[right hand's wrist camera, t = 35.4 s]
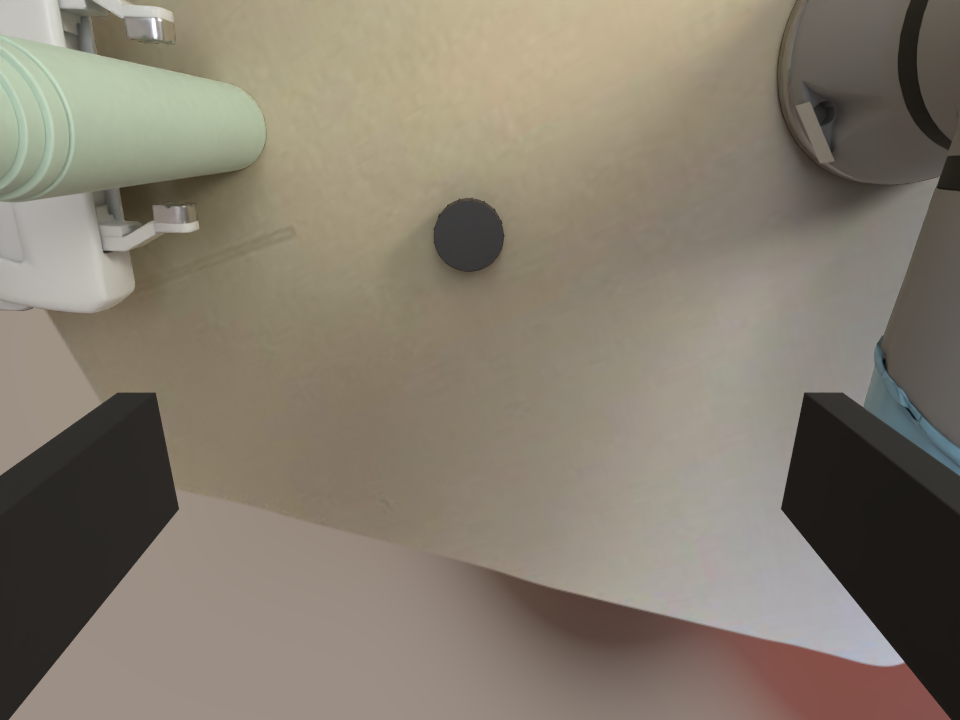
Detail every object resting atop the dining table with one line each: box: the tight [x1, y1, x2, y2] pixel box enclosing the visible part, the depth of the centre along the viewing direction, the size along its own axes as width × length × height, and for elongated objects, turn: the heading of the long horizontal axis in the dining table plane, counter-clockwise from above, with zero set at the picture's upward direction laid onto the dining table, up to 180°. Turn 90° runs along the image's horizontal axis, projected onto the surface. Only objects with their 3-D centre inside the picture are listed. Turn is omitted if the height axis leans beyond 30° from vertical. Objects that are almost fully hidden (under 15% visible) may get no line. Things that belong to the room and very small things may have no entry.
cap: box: [434, 198, 504, 271], centre depth 40 cm, size 5×5×2 cm
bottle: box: [0, 34, 266, 202], centre depth 26 cm, size 5×5×26 cm
